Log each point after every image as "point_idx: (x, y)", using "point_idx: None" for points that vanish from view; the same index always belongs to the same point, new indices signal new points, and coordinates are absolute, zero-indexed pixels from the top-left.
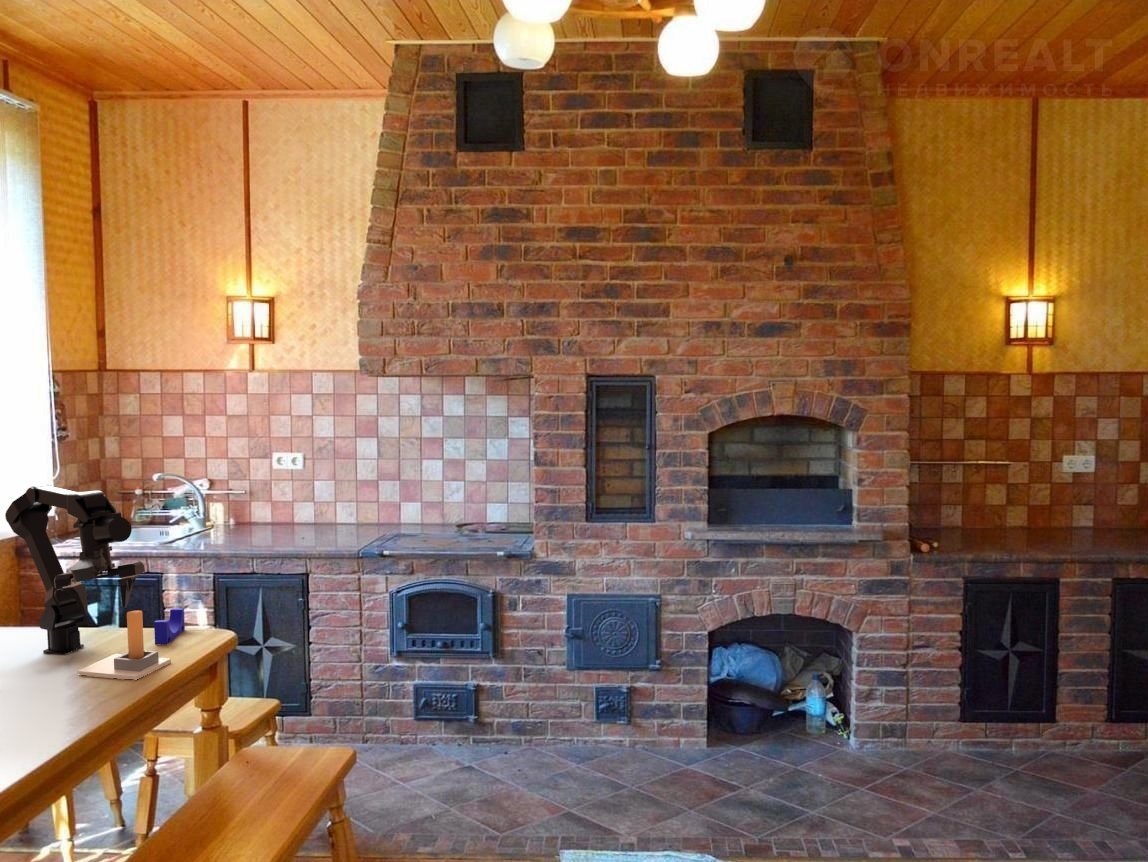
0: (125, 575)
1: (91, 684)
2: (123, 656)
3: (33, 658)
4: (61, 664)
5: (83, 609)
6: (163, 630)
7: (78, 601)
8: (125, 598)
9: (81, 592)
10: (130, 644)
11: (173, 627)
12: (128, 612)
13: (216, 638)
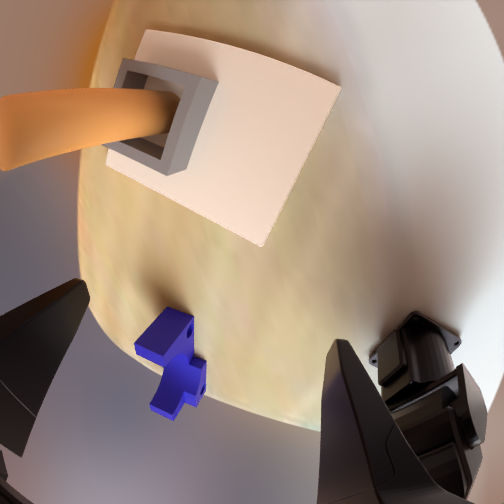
0: None
1: (267, 3)
2: (179, 106)
3: (482, 305)
4: (420, 227)
5: (346, 361)
6: (154, 331)
7: (379, 421)
8: (29, 301)
9: (343, 500)
10: (119, 89)
11: (174, 374)
12: (14, 132)
13: (99, 305)
